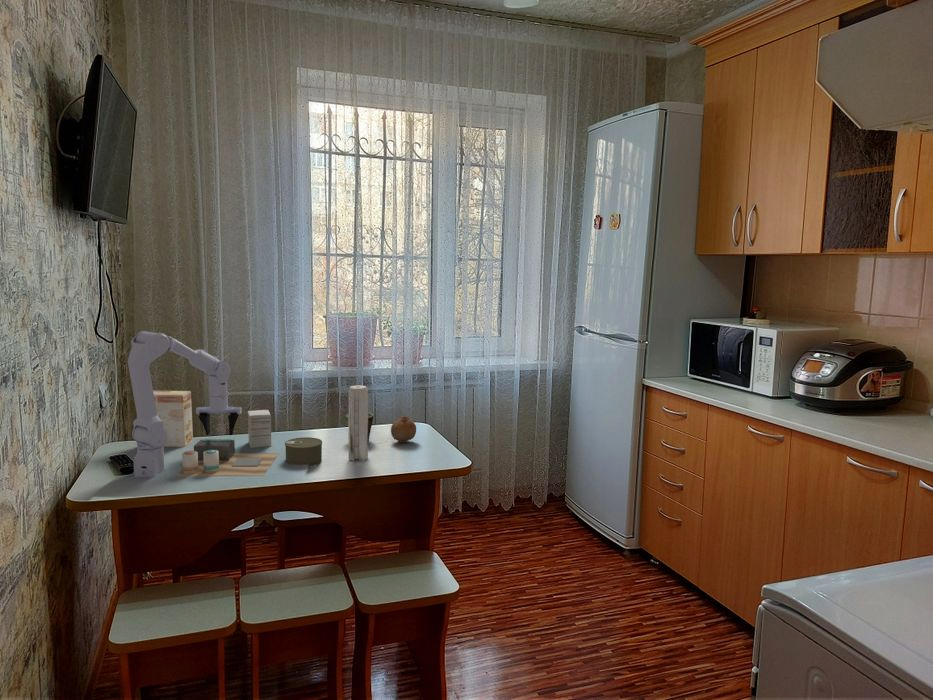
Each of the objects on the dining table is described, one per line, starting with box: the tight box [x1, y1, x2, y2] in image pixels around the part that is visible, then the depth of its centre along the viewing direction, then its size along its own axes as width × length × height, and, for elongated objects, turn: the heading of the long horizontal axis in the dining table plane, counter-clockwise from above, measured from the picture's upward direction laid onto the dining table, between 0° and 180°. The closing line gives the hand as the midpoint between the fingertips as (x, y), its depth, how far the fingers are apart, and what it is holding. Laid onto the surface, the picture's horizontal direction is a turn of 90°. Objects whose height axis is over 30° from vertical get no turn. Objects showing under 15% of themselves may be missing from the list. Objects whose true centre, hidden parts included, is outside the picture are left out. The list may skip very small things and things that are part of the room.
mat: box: [232, 458, 263, 466], centre depth 209 cm, size 8×8×1 cm
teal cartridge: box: [203, 450, 219, 473], centre depth 200 cm, size 4×4×6 cm
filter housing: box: [193, 438, 236, 461], centre depth 213 cm, size 7×11×5 cm
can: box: [284, 436, 323, 468], centre depth 213 cm, size 12×12×7 cm
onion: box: [390, 415, 417, 443], centre depth 238 cm, size 10×9×10 cm
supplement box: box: [247, 409, 272, 449], centre depth 228 cm, size 7×7×13 cm
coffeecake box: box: [153, 389, 194, 448], centre depth 226 cm, size 15×7×20 cm, turn 89°
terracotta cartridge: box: [181, 450, 198, 474], centre depth 198 cm, size 4×4×6 cm
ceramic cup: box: [345, 412, 374, 443], centre depth 237 cm, size 13×10×10 cm
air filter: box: [347, 385, 369, 462], centre depth 217 cm, size 6×6×25 cm
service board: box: [176, 452, 280, 477], centre depth 207 cm, size 23×26×1 cm
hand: (219, 434), depth 218 cm, fingers open, 7 cm apart
